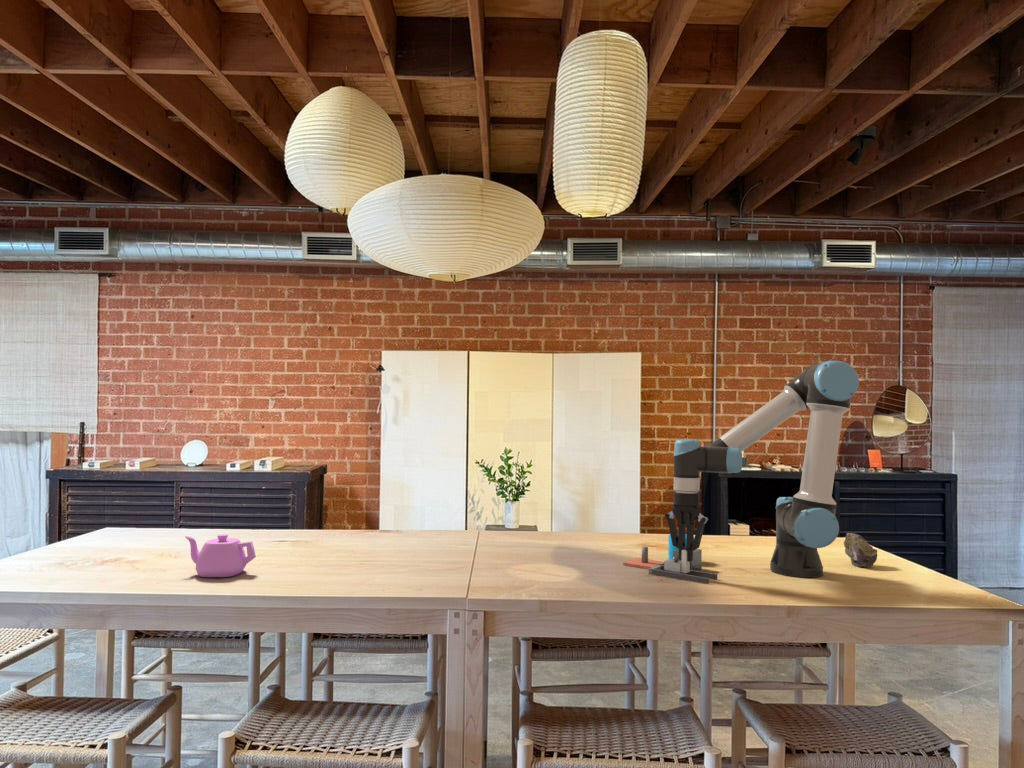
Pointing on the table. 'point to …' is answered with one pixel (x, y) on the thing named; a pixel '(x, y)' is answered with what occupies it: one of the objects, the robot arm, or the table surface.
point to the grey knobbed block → (673, 565)
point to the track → (684, 575)
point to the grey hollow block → (697, 559)
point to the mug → (671, 547)
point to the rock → (859, 550)
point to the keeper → (643, 561)
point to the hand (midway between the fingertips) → (685, 571)
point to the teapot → (221, 556)
